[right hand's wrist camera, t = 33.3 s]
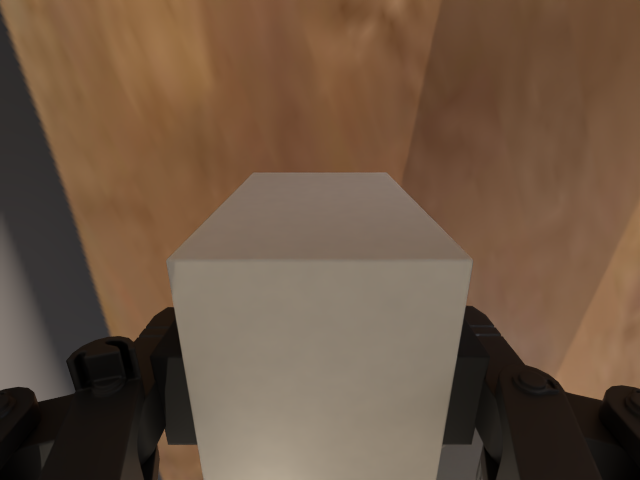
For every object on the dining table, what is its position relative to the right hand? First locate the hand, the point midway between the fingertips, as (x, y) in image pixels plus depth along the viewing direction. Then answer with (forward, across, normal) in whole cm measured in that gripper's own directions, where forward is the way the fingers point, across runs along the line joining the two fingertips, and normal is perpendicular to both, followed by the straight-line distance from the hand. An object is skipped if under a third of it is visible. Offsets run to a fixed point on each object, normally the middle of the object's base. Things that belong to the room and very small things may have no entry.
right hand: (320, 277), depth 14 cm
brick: (+3, 0, 0) cm, 3 cm away
